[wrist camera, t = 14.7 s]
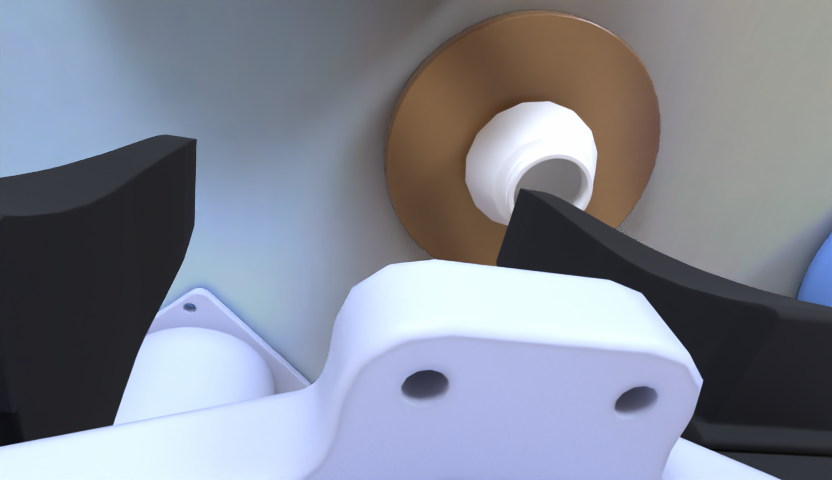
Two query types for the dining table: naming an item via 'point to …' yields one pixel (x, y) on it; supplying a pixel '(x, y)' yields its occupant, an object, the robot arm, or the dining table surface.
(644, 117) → the trivet
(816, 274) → the water jug
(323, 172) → the dining table surface
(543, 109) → the lidless jar
